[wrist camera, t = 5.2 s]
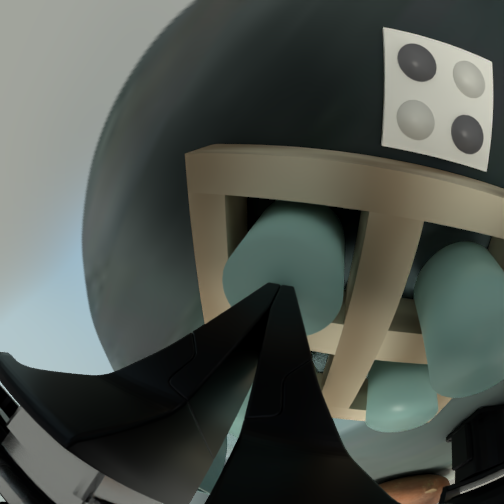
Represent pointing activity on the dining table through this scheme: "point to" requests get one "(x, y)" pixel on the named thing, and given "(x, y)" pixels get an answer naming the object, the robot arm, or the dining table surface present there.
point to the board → (366, 247)
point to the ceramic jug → (416, 488)
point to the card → (436, 99)
